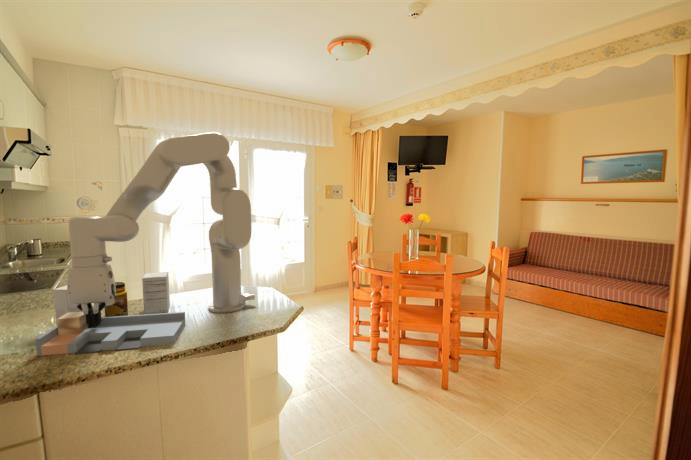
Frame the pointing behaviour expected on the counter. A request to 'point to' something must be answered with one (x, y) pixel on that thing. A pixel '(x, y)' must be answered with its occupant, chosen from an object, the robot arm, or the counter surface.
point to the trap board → (115, 334)
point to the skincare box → (62, 302)
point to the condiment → (118, 302)
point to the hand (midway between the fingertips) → (94, 326)
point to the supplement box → (156, 292)
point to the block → (72, 323)
